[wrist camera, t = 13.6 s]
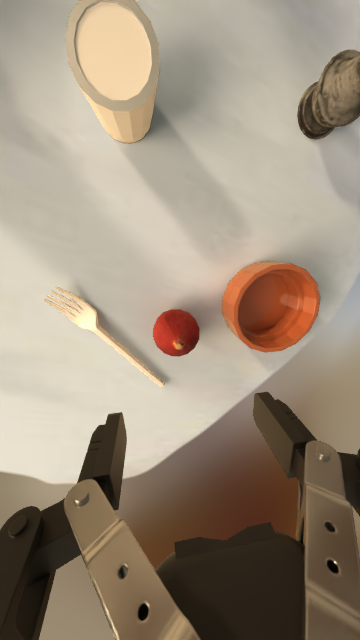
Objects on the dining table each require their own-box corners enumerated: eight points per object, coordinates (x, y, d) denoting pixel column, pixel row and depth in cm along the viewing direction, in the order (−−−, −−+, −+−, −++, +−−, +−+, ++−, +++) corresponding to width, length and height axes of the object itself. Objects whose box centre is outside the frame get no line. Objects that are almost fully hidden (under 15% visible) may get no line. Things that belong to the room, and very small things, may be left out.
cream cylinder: (165, 142, 24) (170, 99, 17) (105, 157, 23) (86, 120, 17) (147, 60, 21) (144, -24, 15) (80, 76, 21) (47, -3, 15)
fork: (155, 390, 33) (155, 398, 32) (47, 298, 27) (40, 302, 26) (170, 377, 33) (172, 384, 31) (64, 281, 27) (58, 283, 25)
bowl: (220, 264, 29) (234, 267, 24) (298, 259, 30) (326, 260, 25) (220, 340, 32) (232, 356, 27) (290, 333, 33) (313, 347, 29)
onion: (200, 312, 30) (216, 333, 23) (183, 347, 32) (193, 377, 24) (162, 296, 29) (166, 313, 21) (146, 333, 30) (145, 361, 23)
